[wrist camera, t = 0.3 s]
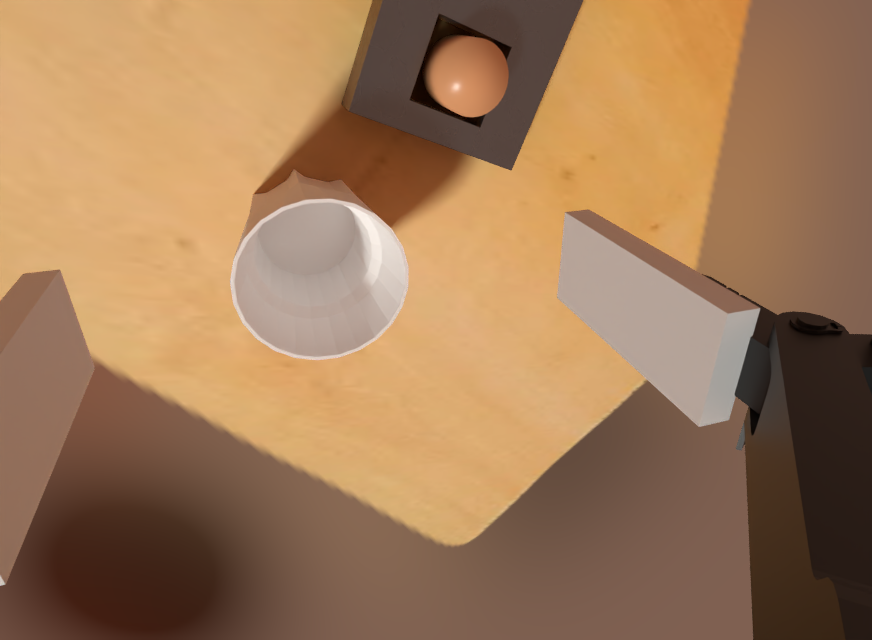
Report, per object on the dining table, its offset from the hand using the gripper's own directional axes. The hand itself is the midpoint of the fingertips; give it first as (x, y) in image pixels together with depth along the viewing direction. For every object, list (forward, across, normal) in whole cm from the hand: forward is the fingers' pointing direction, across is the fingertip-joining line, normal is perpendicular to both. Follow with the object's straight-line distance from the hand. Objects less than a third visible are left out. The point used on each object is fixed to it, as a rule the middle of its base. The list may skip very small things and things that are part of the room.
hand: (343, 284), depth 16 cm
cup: (+26, +1, -7) cm, 27 cm away
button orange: (+24, +11, +3) cm, 27 cm away
